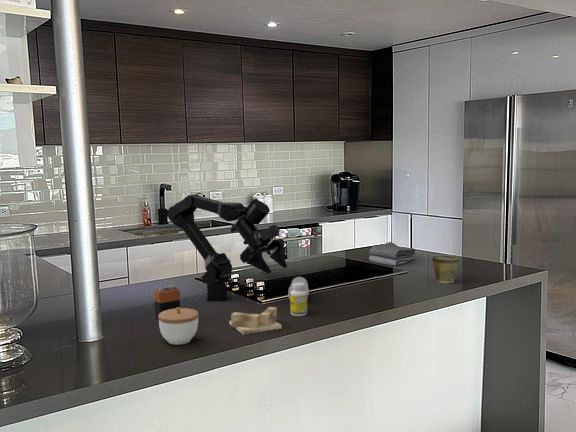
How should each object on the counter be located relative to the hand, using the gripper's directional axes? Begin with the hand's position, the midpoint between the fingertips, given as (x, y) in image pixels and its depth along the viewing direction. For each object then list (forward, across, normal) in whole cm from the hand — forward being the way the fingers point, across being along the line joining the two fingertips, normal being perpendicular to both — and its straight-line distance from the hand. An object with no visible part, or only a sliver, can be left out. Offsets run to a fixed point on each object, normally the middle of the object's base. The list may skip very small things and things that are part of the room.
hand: (278, 270), depth 179 cm
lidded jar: (+5, -38, +14) cm, 41 cm away
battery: (-8, -25, +27) cm, 38 cm away
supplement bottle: (+15, 0, +4) cm, 16 cm away
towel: (+11, +92, +9) cm, 93 cm away
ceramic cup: (+34, +67, -14) cm, 76 cm away
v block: (+12, -17, +7) cm, 22 cm away
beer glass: (+3, +22, +11) cm, 25 cm away
